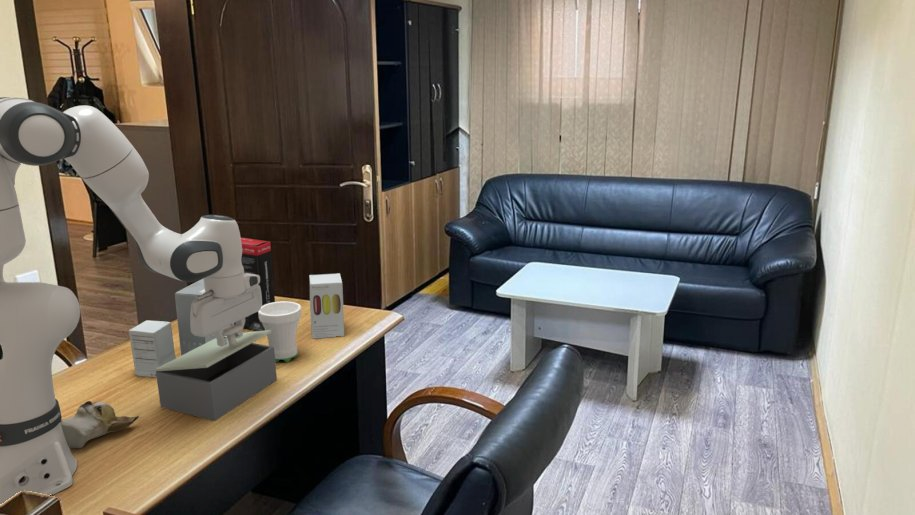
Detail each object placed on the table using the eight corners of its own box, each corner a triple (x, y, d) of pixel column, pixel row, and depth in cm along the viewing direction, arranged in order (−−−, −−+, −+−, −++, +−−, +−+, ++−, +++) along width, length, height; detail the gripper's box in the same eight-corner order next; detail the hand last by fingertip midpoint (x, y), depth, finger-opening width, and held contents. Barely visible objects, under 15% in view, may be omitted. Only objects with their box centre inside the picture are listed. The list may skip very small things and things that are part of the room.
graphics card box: (279, 326, 205) (272, 239, 198) (263, 334, 199) (256, 244, 192) (235, 317, 212) (227, 233, 205) (219, 325, 206) (210, 238, 198)
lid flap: (209, 367, 147) (203, 345, 146) (155, 371, 154) (148, 350, 153) (273, 331, 166) (268, 312, 165) (223, 337, 174) (217, 317, 173)
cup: (296, 345, 191) (292, 298, 187) (310, 359, 182) (307, 310, 178) (256, 354, 185) (252, 306, 181) (269, 369, 176) (265, 318, 172)
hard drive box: (207, 367, 177) (199, 295, 172) (180, 364, 179) (172, 293, 173) (237, 343, 192) (230, 277, 187) (212, 341, 194) (205, 275, 188)
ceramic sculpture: (39, 408, 138) (105, 382, 151) (44, 447, 140) (108, 418, 153) (74, 420, 134) (138, 393, 147) (78, 460, 136) (141, 429, 149)
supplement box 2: (312, 339, 195) (308, 284, 191) (311, 327, 204) (307, 274, 199) (345, 336, 197) (342, 281, 193) (343, 325, 206) (340, 272, 201)
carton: (214, 420, 151) (210, 384, 148) (160, 407, 157) (155, 371, 154) (276, 380, 170) (274, 347, 168) (226, 369, 176) (223, 337, 174)
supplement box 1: (152, 363, 179) (146, 319, 176) (177, 366, 178) (172, 321, 174) (134, 376, 172) (127, 329, 169) (160, 378, 171) (154, 332, 167)
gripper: (202, 300, 143) (209, 360, 147) (264, 274, 162) (268, 328, 165) (179, 296, 146) (186, 355, 149) (243, 271, 164) (248, 324, 168)
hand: (230, 341), depth 158 cm, fingers open, 4 cm apart
